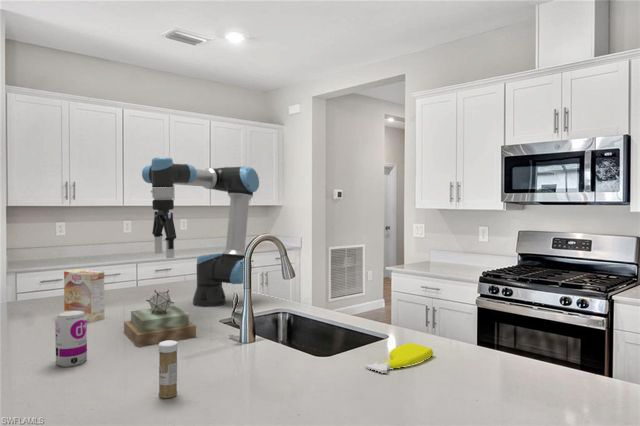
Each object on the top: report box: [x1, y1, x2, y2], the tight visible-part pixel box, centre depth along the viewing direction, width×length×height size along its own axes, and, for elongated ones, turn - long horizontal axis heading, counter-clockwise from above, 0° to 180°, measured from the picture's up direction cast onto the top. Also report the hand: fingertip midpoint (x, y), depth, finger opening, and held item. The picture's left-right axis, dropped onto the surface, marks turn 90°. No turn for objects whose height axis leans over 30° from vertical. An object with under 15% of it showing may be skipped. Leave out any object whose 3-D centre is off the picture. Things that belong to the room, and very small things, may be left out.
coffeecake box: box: [63, 268, 105, 323], centre depth 188 cm, size 15×7×20 cm, turn 68°
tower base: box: [123, 305, 197, 348], centre depth 167 cm, size 20×20×8 cm
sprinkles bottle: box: [158, 340, 179, 399], centre depth 116 cm, size 5×5×13 cm
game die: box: [145, 289, 175, 313], centre depth 167 cm, size 9×8×10 cm
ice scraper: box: [364, 342, 434, 374], centre depth 142 cm, size 3×11×24 cm
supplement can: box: [54, 310, 88, 368], centre depth 138 cm, size 8×8×15 cm
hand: (164, 255), depth 173 cm, fingers open, 13 cm apart
